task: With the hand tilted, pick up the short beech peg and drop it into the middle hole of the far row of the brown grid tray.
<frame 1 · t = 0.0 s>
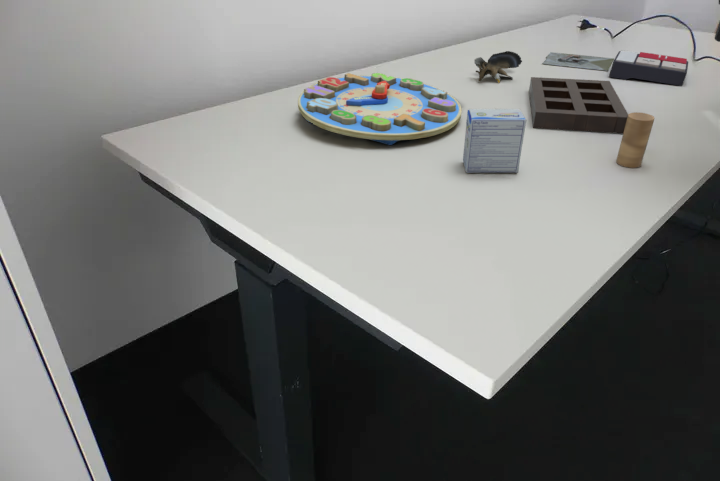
squirrel figurine: (494, 81, 122), on the table
brown grid tray: (572, 110, 105), on the table
shape sorting clock: (379, 118, 103), on the table
grey fossil slab: (556, 62, 136), on the table
medicine box: (489, 168, 83), on the table
dual switch box: (646, 76, 124), on the table
peg: (628, 163, 84), on the table
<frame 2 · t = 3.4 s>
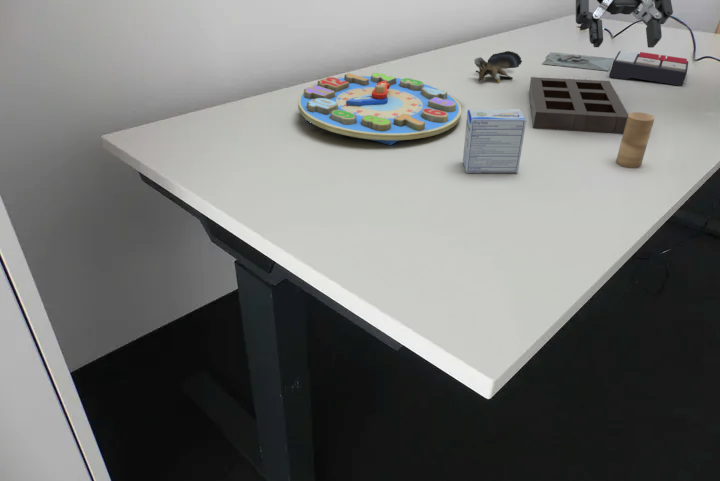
hand: (626, 44, 85), 15 cm above the table, tool tilted 45°, fingers open, 8 cm apart
nothing on the table moved.
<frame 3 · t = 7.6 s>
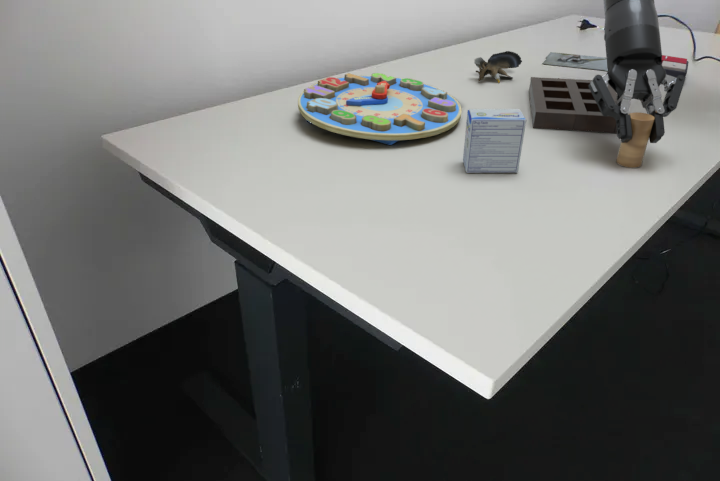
hand: (641, 140, 80), 5 cm above the table, tool tilted 45°, fingers closed on peg, 3 cm apart
peg: (628, 163, 84), on the table, touching gripper
everything else where it was.
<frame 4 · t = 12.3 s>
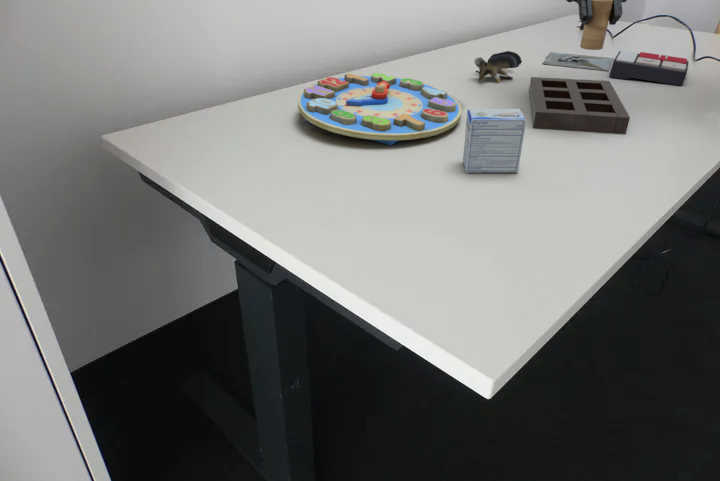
hand: (601, 21, 87), 18 cm above the table, tool tilted 45°, fingers closed on peg, 3 cm apart
peg: (591, 47, 91), point 14 cm above the table, touching gripper
everything else where it was.
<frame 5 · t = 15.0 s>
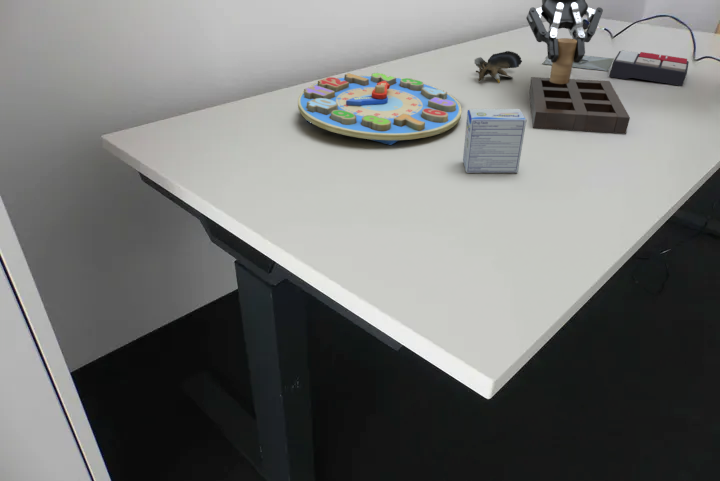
hand: (566, 59, 98), 10 cm above the table, tool tilted 45°, fingers closed on peg, 3 cm apart
peg: (559, 81, 102), point 5 cm above the table, touching gripper
everything else where it was.
when the fingers open (4 cm above the table, at t = 17.1 s): peg stays where it is, resting in brown grid tray.
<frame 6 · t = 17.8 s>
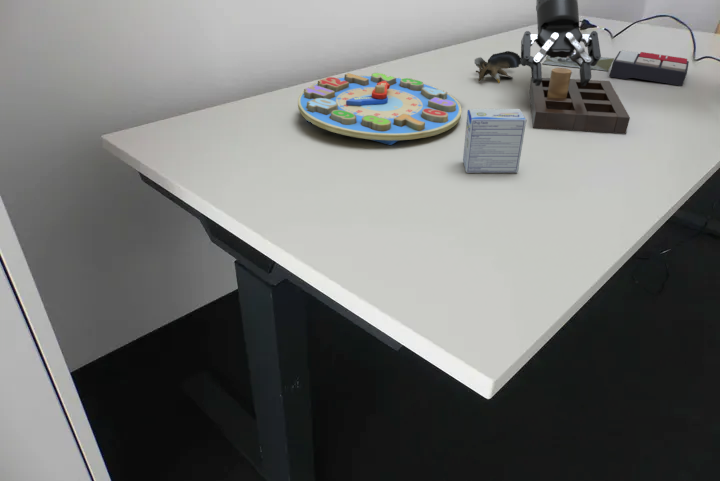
hand: (561, 84, 101), 5 cm above the table, tool tilted 45°, fingers open, 8 cm apart
peg: (554, 109, 105), resting in brown grid tray
everything else where it was.
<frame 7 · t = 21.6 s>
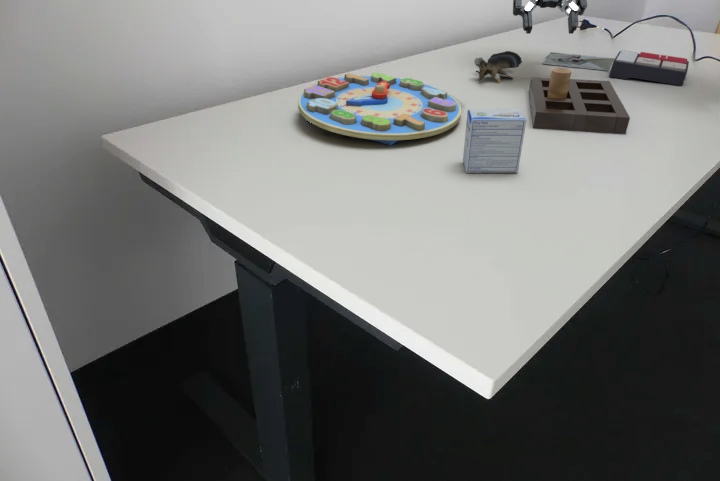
hand: (550, 31, 108), 12 cm above the table, tool tilted 45°, fingers open, 8 cm apart
nothing on the table moved.
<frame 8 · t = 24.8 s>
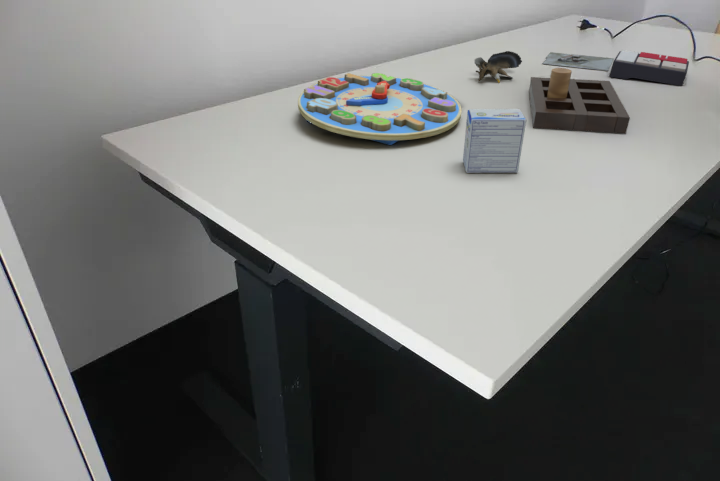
nothing on the table moved.
at the end: peg 0.1 cm from the target spot in the brown grid tray, point 0.0 cm above the brown grid tray's base; peg tilted 0°; the gripper is holding nothing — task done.
